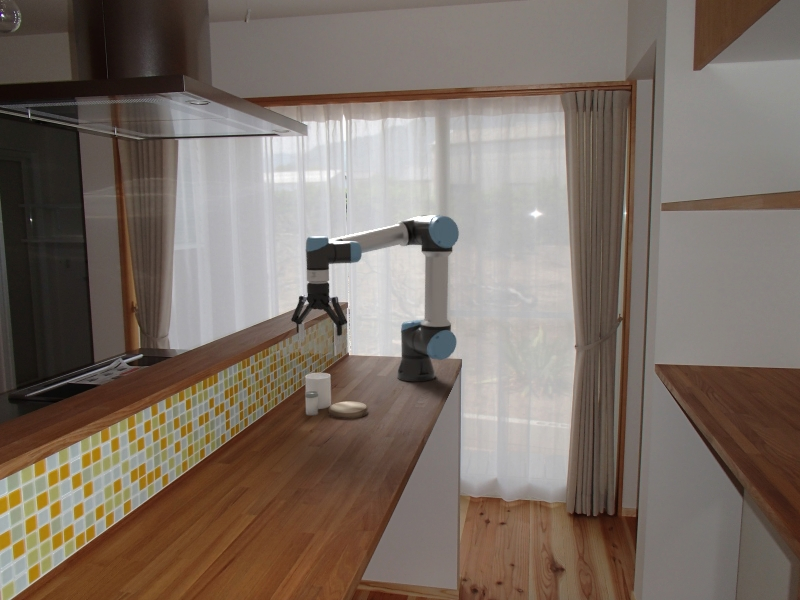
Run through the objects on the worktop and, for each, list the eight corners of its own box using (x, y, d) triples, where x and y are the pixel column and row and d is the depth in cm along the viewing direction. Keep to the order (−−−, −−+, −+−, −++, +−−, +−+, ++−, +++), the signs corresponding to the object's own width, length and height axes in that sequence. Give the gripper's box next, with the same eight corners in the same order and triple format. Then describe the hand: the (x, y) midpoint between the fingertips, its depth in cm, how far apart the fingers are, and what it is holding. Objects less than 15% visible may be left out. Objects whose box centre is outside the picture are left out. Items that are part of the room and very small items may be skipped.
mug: (338, 400, 233) (338, 371, 231) (325, 410, 221) (324, 379, 220) (316, 398, 235) (315, 369, 234) (301, 408, 224) (301, 377, 222)
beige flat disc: (339, 405, 227) (339, 399, 227) (373, 408, 223) (373, 403, 223) (321, 416, 215) (321, 410, 215) (358, 420, 211) (357, 414, 211)
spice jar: (309, 410, 221) (308, 390, 220) (320, 412, 220) (320, 392, 219) (303, 414, 217) (302, 394, 216) (314, 415, 216) (314, 395, 215)
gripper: (280, 282, 223) (282, 343, 226) (346, 284, 214) (347, 348, 217) (291, 279, 230) (293, 339, 233) (356, 282, 221) (357, 343, 224)
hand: (319, 343), depth 225 cm, fingers open, 13 cm apart
